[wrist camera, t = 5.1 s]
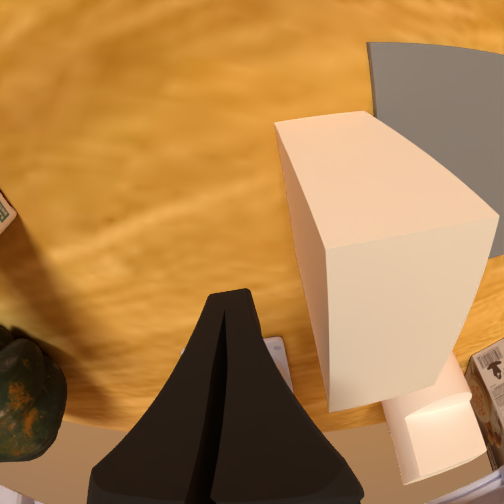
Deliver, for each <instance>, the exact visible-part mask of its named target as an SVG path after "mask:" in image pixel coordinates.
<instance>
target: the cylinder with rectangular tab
mask: <svg viewBox="0 0 504 504" xmlns="http://www.w3.org/2000/svg"><path fill="white" fill-rule="evenodd" d="M471 398H472V393H471V391H470V388H469V386H468V384H467V381H466V379H465V377H464V375H463V372H462V370H461V368H460V366H459V363H458V361H457V359H456V357H455V355H454V353H453V351H451V353H450V355H449V357H448V359H447V361H446V363H445V365H444V367H443V369H442V371H441V373H440V375H439V377H438V379H437V380H436V382H435V384H434V385H432V386H429V387H426V388H423V389H420V390H417V391H414V392H411V393H407V394H404V395H401V396H397V397H394V398H390V399H387V400H383V401H381V404H382V407H383V411H384V415H385V418H386V422H387V426H388V430H389V433H390V434H391V436H392V440H393V444H394V448H395V452H396V456H397V460H398V464H399V469H400V473H401V477H402V482H403V485H406V484H410V483H413V482H416V481H419V480H422V479H425V478H428V477H431V476H434V475H437V474H440V473H442V472H445V471H447V470H450V469H453V468H455V467H458V466H460V465H463V464H465V463H467V462H469V461H471V460H473V459H475V458H476V457H478V456H480V455H481V454H483V453H484V452H486V451H487V449H486V446H485V443H484V440H483V437H482V434H481V431H480V428H479V425H478V423H477V420H476V417H475V415H474V412H473V409H472V407H471V404H470V402H469V401H470V400H471Z"/></svg>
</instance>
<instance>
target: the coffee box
mask: <svg viewBox="0 0 504 504" xmlns="http://www.w3.org/2000/svg"><path fill="white" fill-rule="evenodd" d="M465 379H466V381H467V384H468V386H469V388H470V391H471V393H472V398H471V400H470V401H469V402H470V404H471V407H472V409H473V412H474V415H475V417H476V420H477V423H478V425H479V428H480V431H481V434H482V437H483V440H484V443H485V446H486V449H487V454H488V457H489V461H490V464H491V467H492V470H493V471H495V470H497V469H498V468H500V467H501V466H503V465H504V338H503V339H501V340H499V341H497V342H496V343H494V344H492V345H490V346H489V347H487V348H485V349H483V350H481V351H479V352H477V353H476V354H474V355H472V356H471V358H470V362H469V365H468V368H467V372H466V375H465Z"/></svg>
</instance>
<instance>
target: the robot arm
mask: <svg viewBox="0 0 504 504" xmlns="http://www.w3.org/2000/svg"><path fill="white" fill-rule="evenodd" d="M363 497H364V491H363V488H362V486H361V484H360V482H359V481H358V479H357V478H356V476H355V474H354V473H353V471H352V470H351V468H350V467H349V465H348V464H347V462H346V461H345V459H344V458H343V457H342V456H341V455H340V454H339V452H338V451H337V450H336V449H335V448H334V447H333V446H332V445H331V444H330V442H329V441H328V440H327V439H326V437H325V436H324V435H323V434H322V433H321V431H320V430H319V429H318V428H317V426H316V425H315V424H314V422H313V421H312V420H311V418H310V417H309V416H308V414H307V413H306V411H305V410H304V409H303V407H302V406H301V404H300V403H299V402H298V400H297V399H296V397H295V396H294V391H293V386H292V381H291V376H290V371H289V366H288V361H287V357H286V352H285V347H284V342H283V339H282V338H281V337H271V338H264V339H263V337H262V334H261V327H260V323H259V319H258V316H257V312H256V309H255V305H254V302H253V298H252V295H251V291H250V290H249V289H247V288H244V289H238V290H232V291H226V292H220V293H214V294H210V295H209V296H208V298H207V300H206V303H205V306H204V308H203V311H202V313H201V315H200V318H199V320H198V322H197V325H196V327H195V329H194V331H193V333H192V335H191V337H190V340H189V342H188V344H187V346H186V348H185V349H183V350H182V351H181V357H180V359H179V361H178V363H177V365H176V367H175V368H174V370H173V372H172V374H171V375H170V377H169V379H168V380H167V382H166V383H165V385H164V387H163V388H162V390H161V391H160V393H159V394H158V396H157V397H156V399H155V400H154V401H153V403H152V404H151V405H150V407H149V408H148V410H147V411H146V412H145V414H144V415H143V416H142V417H141V419H140V420H139V421H138V422H137V424H136V425H135V426H134V427H133V428H132V429H131V430H130V432H129V433H128V434H127V435H126V436H125V437H124V438H123V439H122V441H121V442H120V443H119V444H118V445H117V446H116V447H115V448H114V449H113V450H112V451H111V452H110V453H109V454H107V455H106V456H105V457H104V458H103V459H102V460H101V461H100V462H99V463H98V464H97V465H96V466H94V467H93V468H92V471H91V475H90V481H89V489H88V497H87V504H361V503H360V500H361V499H362V498H363ZM0 504H46V503H43V502H41V501H38V500H35V499H33V498H31V497H29V496H27V495H24V494H22V493H20V492H18V491H15V490H13V489H11V488H9V487H7V486H4V485H2V484H1V485H0ZM424 504H504V465H503V466H501V467H500V468H498V469H497V470H495V471H493V472H491V473H489V474H488V475H486V476H484V477H482V478H481V479H479V480H477V481H475V482H473V483H471V484H468V485H466V486H464V487H462V488H460V489H458V490H456V491H453V492H451V493H448V494H446V495H444V496H441V497H439V498H436V499H434V500H431V501H429V502H426V503H424Z"/></svg>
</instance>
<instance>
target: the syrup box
mask: <svg viewBox="0 0 504 504" xmlns="http://www.w3.org/2000/svg"><path fill="white" fill-rule="evenodd" d="M16 215H17V213H16V211H15V210H14V209H13V207H11V206H9V204H8V203H7V201H6V200H5V199H4V197H3V196H2V194H1V193H0V234H1V233H2V232H3V231H4V230H5V228H6V227H7V226H8V225H9V224H10V223H11V222H12V221H13V220H14V219H15V217H16Z"/></svg>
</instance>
